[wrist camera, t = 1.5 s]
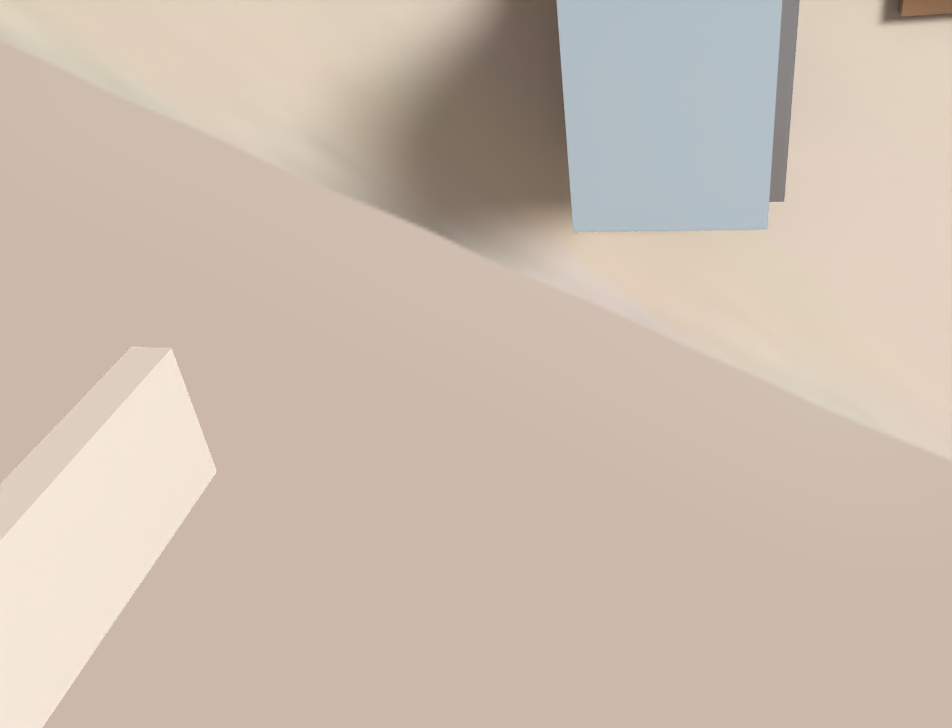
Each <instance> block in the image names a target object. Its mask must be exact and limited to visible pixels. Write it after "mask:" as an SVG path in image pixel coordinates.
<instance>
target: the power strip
mask: <svg viewBox="0 0 952 728" xmlns="http://www.w3.org/2000/svg"><path fill="white" fill-rule="evenodd" d="M798 13H799V0H782V14H781V29H780V44H779V59H778V75H777V90H776V105H775V120H774V136H773V151H772V166H771V181H770V197H769V202H783V201H784V196H785V183H786V170H787V157H788V144H789V131H790V118H791V105H792V91H793V78H794V65H795V52H796V39H797V26H798Z"/></svg>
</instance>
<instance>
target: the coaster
mask: <svg viewBox="0 0 952 728" xmlns="http://www.w3.org/2000/svg"><path fill="white" fill-rule="evenodd" d="M899 13H900V15H901V17H903V16H918V15H932V14H947V13H952V0H900V5H899Z"/></svg>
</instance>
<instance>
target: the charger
mask: <svg viewBox="0 0 952 728" xmlns="http://www.w3.org/2000/svg"><path fill="white" fill-rule="evenodd" d="M556 2H557V15H558V29H559V43H560V57H561V70H562V84H563V98H564V111H565V125H566V139H567V153H568V166H569V180H570V194H571V207H572V221H573V232H616V231H699V230H767V227H768V212H769V197H770V181H771V166H772V151H773V136H774V120H775V105H776V90H777V75H778V59H779V44H780V29H781V14H782V0H556Z"/></svg>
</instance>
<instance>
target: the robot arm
mask: <svg viewBox="0 0 952 728" xmlns="http://www.w3.org/2000/svg"><path fill="white" fill-rule="evenodd" d="M216 472H217V471H216V468H215V465H214V462H213V460H212V457H211V454H210V451H209V449H208V446H207V443H206V441H205V438H204V435H203V432H202V430H201V427H200V424H199V422H198V419H197V416H196V413H195V411H194V408H193V405H192V403H191V400H190V397H189V394H188V392H187V389H186V386H185V383H184V381H183V378H182V376H181V373H180V370H179V368H178V364H177V362H176V359H175V356H174V354H173V351H172V349H171V348H156V347H133V346H132V347H131V348H130V349H129V350H128V351H127V352H126V353H125V354H124V355H123V356H122V357H121V358H120V359H119V360H118V362H116V363H115V364H114V365H113V366H112V368H110V370H109V371H108V372H107V373H106V374H105V375H104V376H103V377H102V378H101V379H100V380H99V381H98V382H97V383H96V384H95V385H94V386H93V387H92V388H91V389H90V390H89V391H88V393H87V394H86V395H85V396H84V397H83V398H82V399H81V400H80V401H79V402H78V403H77V404H76V405H75V406H74V407H73V408H72V409H71V410H70V411H69V412H68V414H67V415H66V416H65V417H64V418H63V419H62V420H61V421H60V422H59V423H58V424H57V425H56V426H55V427H54V428H53V429H52V430H51V431H50V432H49V434H47V436H46V437H45V438H44V439H43V440H42V441H41V442H40V443H39V444H38V445H37V446H36V447H35V448H34V449H33V450H32V451H31V452H30V453H29V454H28V455H27V456H26V457H25V458H24V460H23V461H22V462H21V463H20V464H19V465H18V466H17V467H16V468H15V469H14V470H13V471H12V472H11V473H10V474H9V475H8V476H7V477H6V478H5V479H4V480H3V481H2V483H1V484H0V728H42V727H43V726H44V724H45V723H46V721H47V720H48V718H49V717H50V715H51V714H52V712H53V711H54V709H55V708H56V706H57V705H58V704H59V702H60V701H61V699H62V698H63V696H64V695H65V693H66V692H67V690H68V689H69V687H70V686H71V685H72V683H73V681H74V680H75V679H76V677H77V676H78V674H79V673H80V671H81V670H82V668H83V667H84V666H85V664H86V662H87V661H88V659H89V658H90V657H91V655H92V654H93V652H94V651H95V649H96V648H97V647H98V645H99V643H100V642H101V640H102V639H103V637H104V636H105V635H106V633H107V632H108V630H109V629H110V627H111V626H112V625H113V623H114V622H115V620H116V619H117V617H118V616H119V614H120V613H121V611H122V610H123V608H124V607H125V605H126V604H127V603H128V601H129V600H130V598H131V597H132V595H133V594H134V592H135V591H136V589H137V588H138V586H139V585H140V584H141V582H142V581H143V579H144V578H145V576H146V575H147V573H148V572H149V570H150V569H151V567H152V566H153V564H154V563H155V562H156V560H157V559H158V557H159V556H160V554H161V553H162V551H163V550H164V548H165V547H166V545H167V544H168V543H169V541H170V540H171V538H172V537H173V535H174V534H175V532H176V531H177V529H178V528H179V526H180V525H181V523H182V522H183V521H184V519H185V518H186V516H187V515H188V513H189V512H190V510H191V509H192V507H193V506H194V504H195V503H196V502H197V500H198V498H199V497H200V496H201V494H202V493H203V491H204V490H205V488H206V487H207V485H208V484H209V483H210V481H211V480H212V478H213V477H214V475H215V474H216Z"/></svg>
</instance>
